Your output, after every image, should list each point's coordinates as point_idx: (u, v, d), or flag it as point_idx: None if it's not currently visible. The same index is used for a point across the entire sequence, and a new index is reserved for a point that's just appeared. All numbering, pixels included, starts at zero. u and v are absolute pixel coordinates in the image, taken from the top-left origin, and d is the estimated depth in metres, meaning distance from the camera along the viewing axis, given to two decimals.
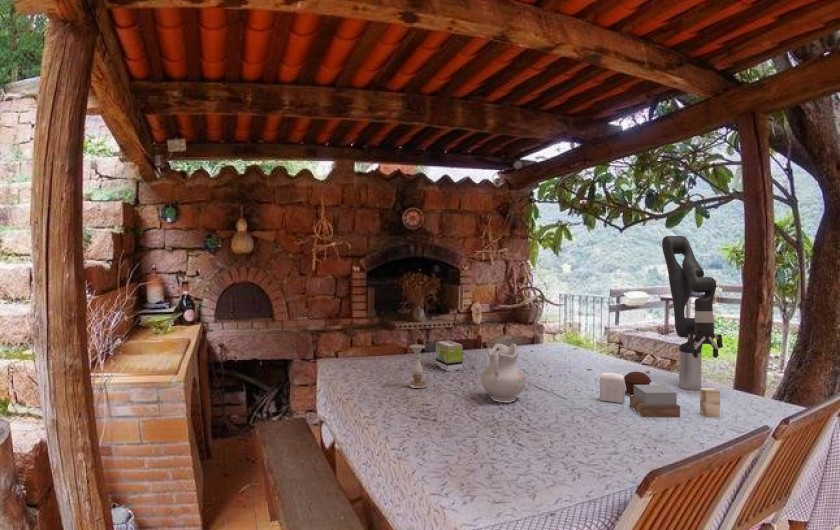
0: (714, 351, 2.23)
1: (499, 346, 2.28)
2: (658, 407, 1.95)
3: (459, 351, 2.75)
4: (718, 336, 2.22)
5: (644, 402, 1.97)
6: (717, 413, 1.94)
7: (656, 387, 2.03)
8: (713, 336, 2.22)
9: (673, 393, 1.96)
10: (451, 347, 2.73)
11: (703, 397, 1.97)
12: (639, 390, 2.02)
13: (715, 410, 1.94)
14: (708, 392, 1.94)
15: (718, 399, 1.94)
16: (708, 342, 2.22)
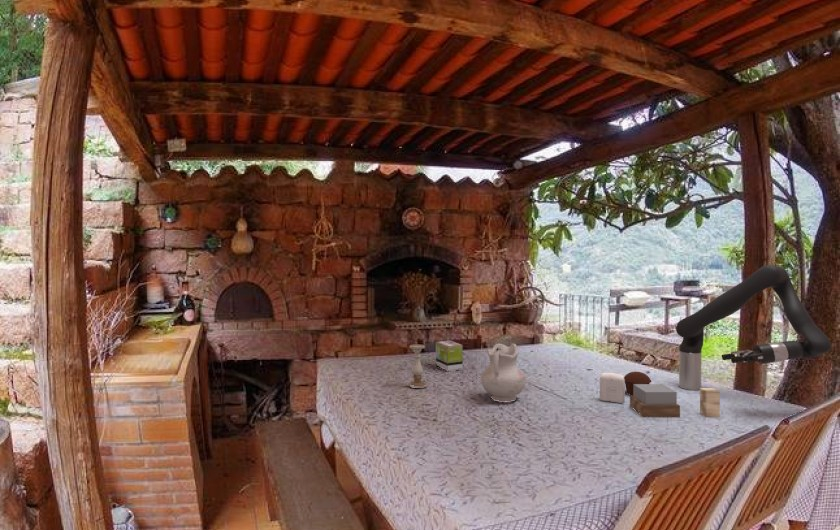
0: (729, 357, 2.02)
1: (499, 346, 2.28)
2: (658, 406, 1.95)
3: (459, 351, 2.75)
4: None
5: (644, 401, 1.97)
6: (717, 413, 1.94)
7: (656, 386, 2.03)
8: None
9: (673, 392, 1.96)
10: (451, 347, 2.73)
11: (703, 397, 1.97)
12: (639, 389, 2.02)
13: (715, 410, 1.94)
14: (708, 392, 1.94)
15: (718, 399, 1.94)
16: None
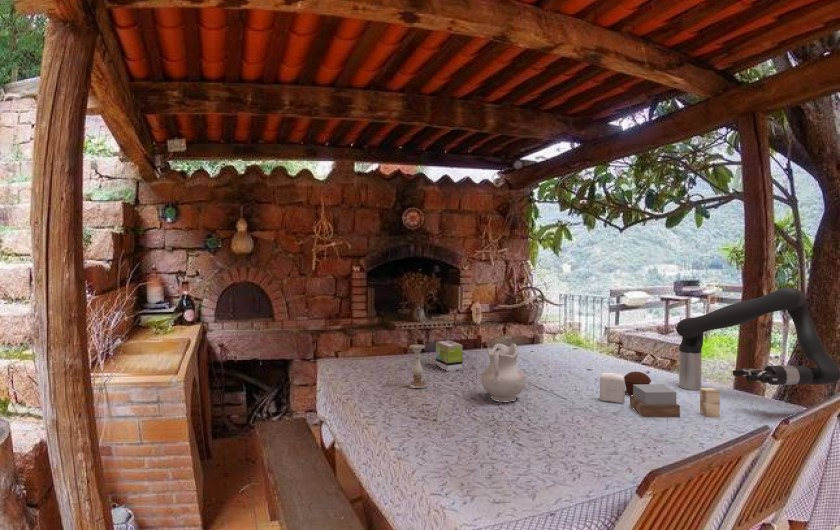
0: (740, 373, 2.00)
1: (499, 346, 2.28)
2: (658, 406, 1.95)
3: (459, 351, 2.75)
4: None
5: (644, 402, 1.97)
6: (717, 413, 1.94)
7: (656, 387, 2.03)
8: None
9: (673, 393, 1.96)
10: (451, 347, 2.73)
11: (703, 397, 1.97)
12: (639, 390, 2.02)
13: (715, 410, 1.94)
14: (708, 392, 1.94)
15: (718, 399, 1.94)
16: None
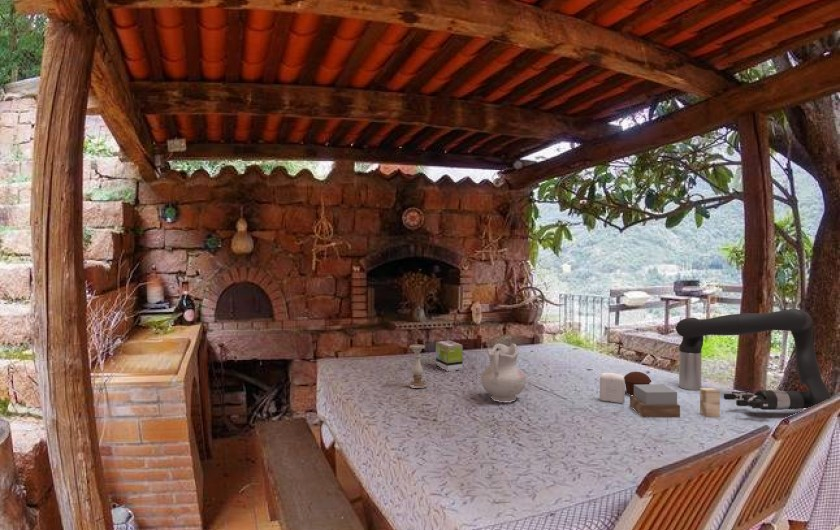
0: (731, 397, 2.00)
1: (499, 346, 2.28)
2: (658, 406, 1.95)
3: (459, 351, 2.75)
4: None
5: (645, 402, 1.97)
6: (717, 413, 1.94)
7: (656, 387, 2.03)
8: None
9: (674, 393, 1.95)
10: (451, 347, 2.73)
11: (703, 397, 1.97)
12: (639, 390, 2.02)
13: (715, 410, 1.94)
14: (708, 392, 1.94)
15: (718, 399, 1.94)
16: None
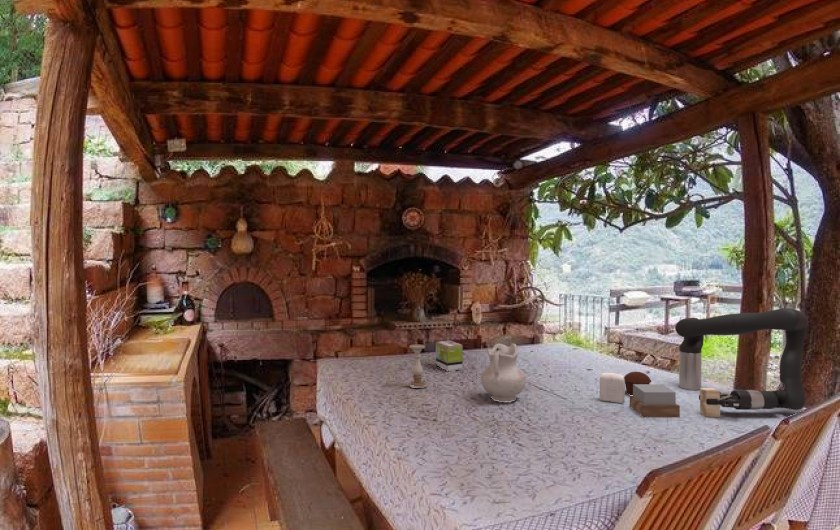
0: None
1: (499, 346, 2.28)
2: (658, 407, 1.95)
3: (459, 351, 2.75)
4: None
5: (643, 401, 1.97)
6: (717, 413, 1.94)
7: (655, 387, 2.03)
8: None
9: (672, 393, 1.95)
10: (451, 347, 2.73)
11: (703, 397, 1.97)
12: (638, 389, 2.02)
13: (715, 409, 1.94)
14: (708, 392, 1.94)
15: None
16: None
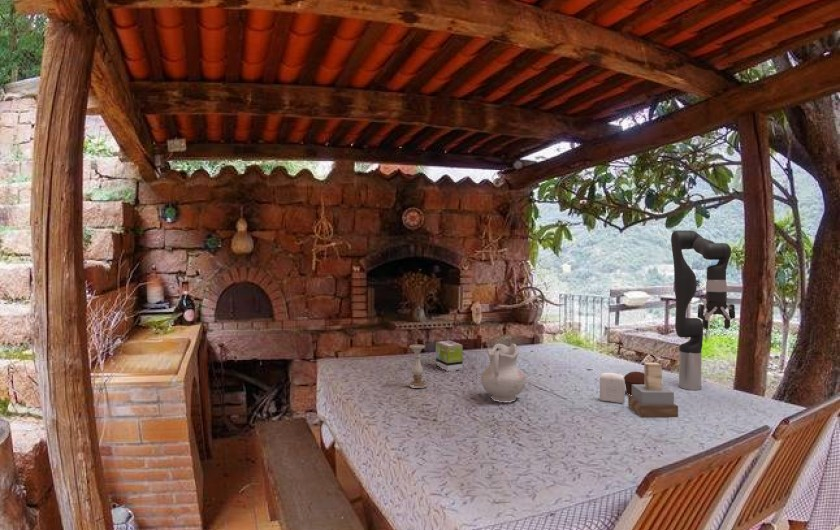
0: (726, 322, 2.09)
1: (499, 346, 2.28)
2: (656, 407, 1.95)
3: (459, 351, 2.75)
4: (731, 306, 2.09)
5: (641, 401, 1.97)
6: (659, 386, 1.98)
7: None
8: (725, 306, 2.09)
9: (670, 393, 1.95)
10: (451, 347, 2.73)
11: (646, 371, 2.01)
12: (636, 390, 2.02)
13: (657, 383, 1.99)
14: (650, 366, 1.99)
15: (660, 372, 1.98)
16: (720, 312, 2.09)
